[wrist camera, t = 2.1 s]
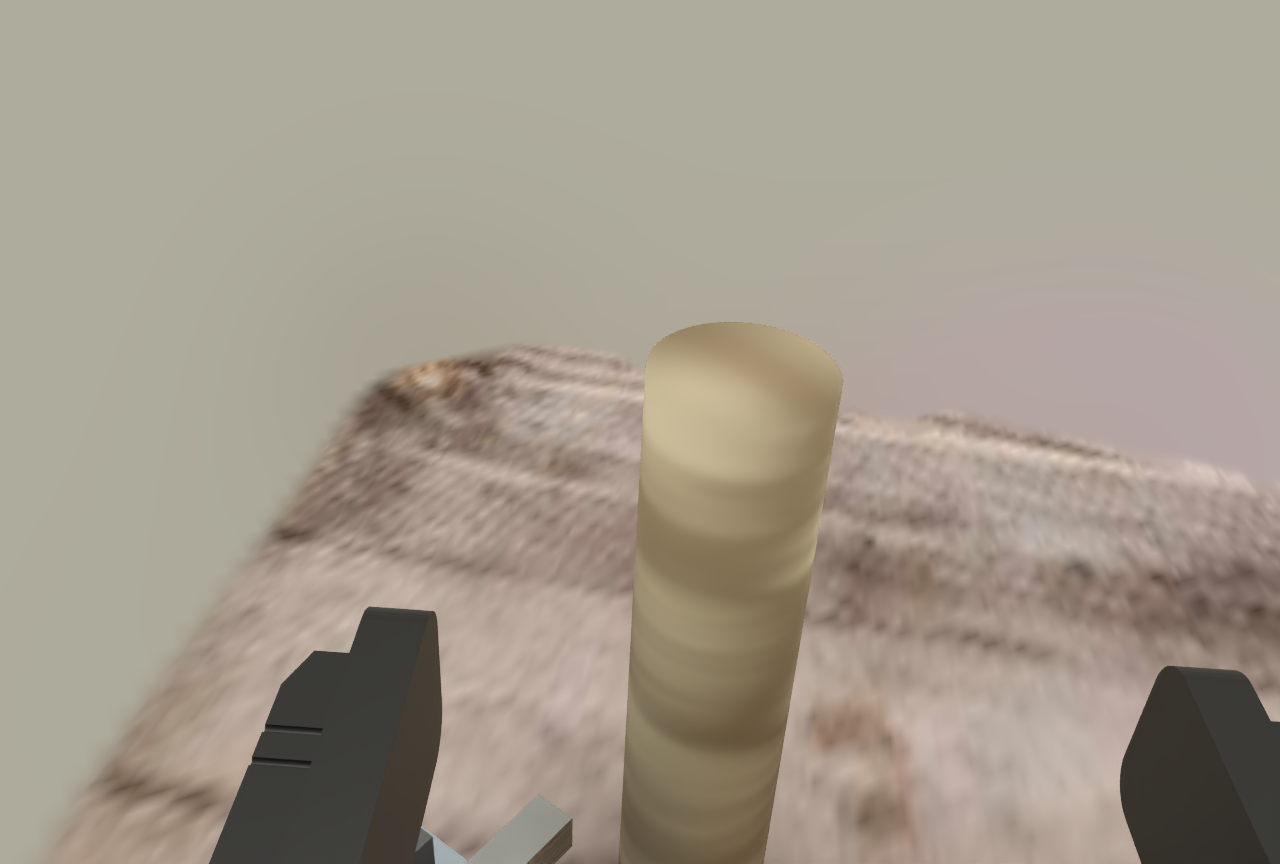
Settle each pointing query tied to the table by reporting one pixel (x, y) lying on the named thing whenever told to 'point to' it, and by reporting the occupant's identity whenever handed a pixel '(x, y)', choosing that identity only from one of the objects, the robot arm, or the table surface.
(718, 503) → the birch dowel
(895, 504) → the table surface
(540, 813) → the plunger
